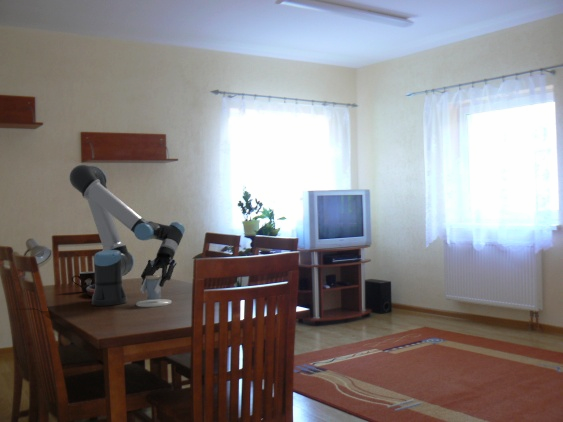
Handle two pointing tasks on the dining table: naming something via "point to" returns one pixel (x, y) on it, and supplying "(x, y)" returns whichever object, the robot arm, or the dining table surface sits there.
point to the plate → (153, 303)
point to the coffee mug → (86, 280)
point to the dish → (91, 290)
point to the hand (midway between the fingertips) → (149, 291)
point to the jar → (152, 287)
